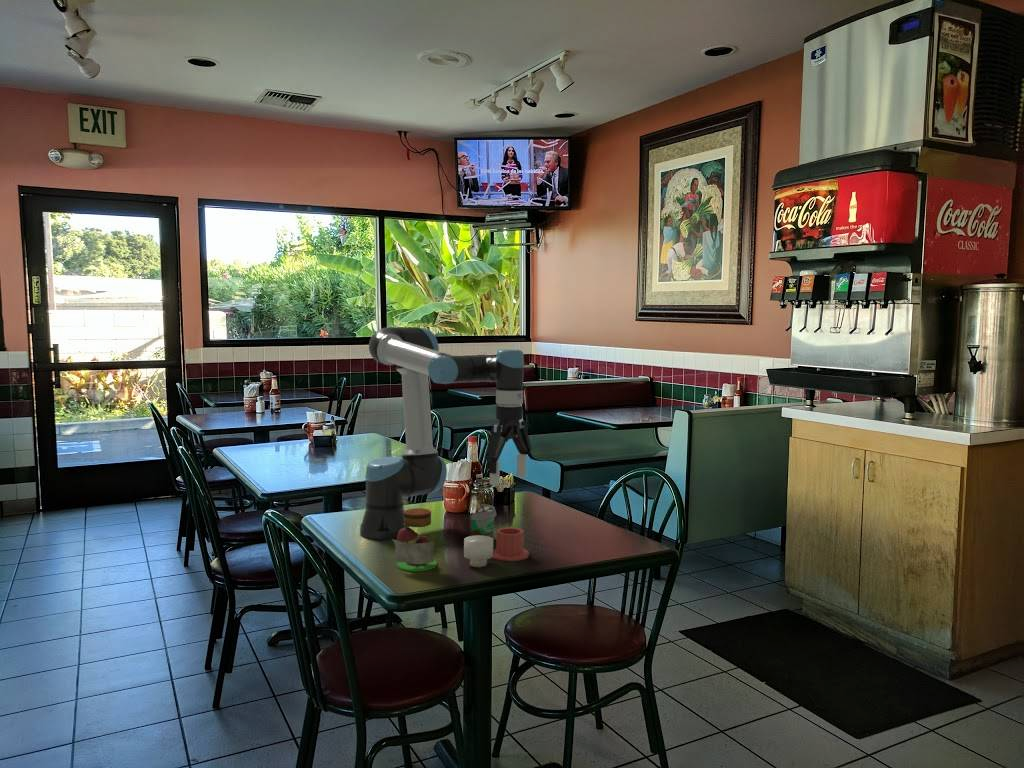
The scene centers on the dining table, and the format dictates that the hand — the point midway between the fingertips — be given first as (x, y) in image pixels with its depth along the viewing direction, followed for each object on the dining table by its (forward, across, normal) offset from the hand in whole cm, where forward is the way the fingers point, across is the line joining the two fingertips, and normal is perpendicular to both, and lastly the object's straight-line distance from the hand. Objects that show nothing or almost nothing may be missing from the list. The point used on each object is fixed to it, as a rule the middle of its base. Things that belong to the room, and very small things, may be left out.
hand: (508, 480), depth 209 cm
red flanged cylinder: (+22, +3, +1) cm, 22 cm away
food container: (+22, +11, +15) cm, 29 cm away
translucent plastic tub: (+22, -20, +17) cm, 34 cm away
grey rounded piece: (+22, -9, +4) cm, 24 cm away
